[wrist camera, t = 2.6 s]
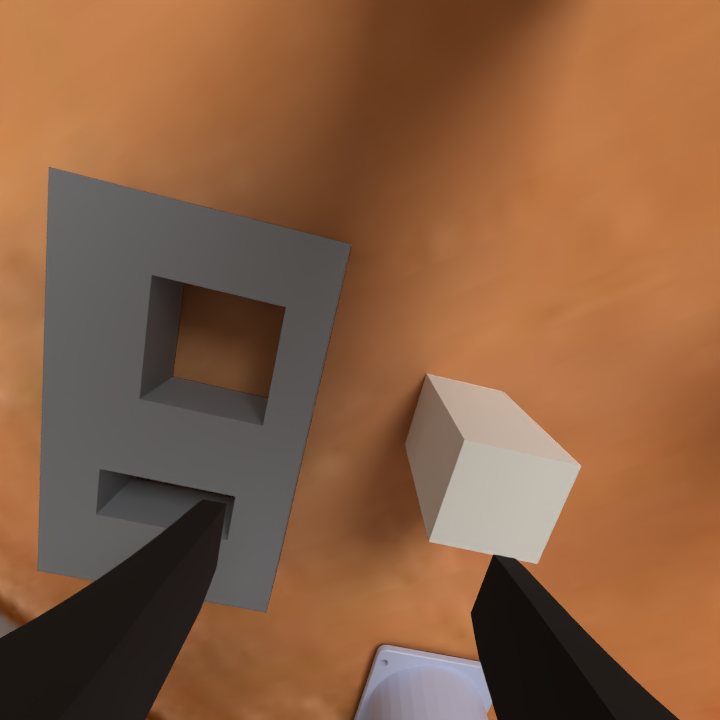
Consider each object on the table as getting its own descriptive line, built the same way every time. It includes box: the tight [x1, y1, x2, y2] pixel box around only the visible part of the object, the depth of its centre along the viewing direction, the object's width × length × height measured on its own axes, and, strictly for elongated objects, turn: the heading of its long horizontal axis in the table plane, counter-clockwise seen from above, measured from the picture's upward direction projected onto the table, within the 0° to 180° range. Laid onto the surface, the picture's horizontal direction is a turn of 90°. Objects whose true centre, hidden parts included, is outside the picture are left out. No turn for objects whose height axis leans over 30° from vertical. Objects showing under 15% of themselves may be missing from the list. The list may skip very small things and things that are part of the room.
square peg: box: [405, 374, 581, 564], centre depth 16 cm, size 4×4×7 cm
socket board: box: [37, 167, 351, 612], centre depth 18 cm, size 18×11×3 cm, turn 166°
